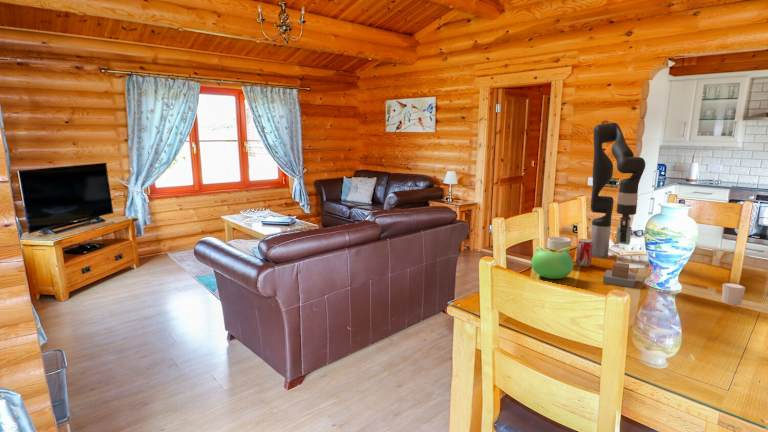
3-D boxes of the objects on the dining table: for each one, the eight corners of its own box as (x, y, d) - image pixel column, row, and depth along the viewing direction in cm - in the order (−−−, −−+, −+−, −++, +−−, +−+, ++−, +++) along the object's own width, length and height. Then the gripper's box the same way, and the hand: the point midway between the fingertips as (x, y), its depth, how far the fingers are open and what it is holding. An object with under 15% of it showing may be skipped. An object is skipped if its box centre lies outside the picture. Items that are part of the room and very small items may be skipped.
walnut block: (613, 272, 192) (614, 261, 191) (628, 274, 189) (629, 264, 188) (611, 275, 187) (612, 265, 186) (627, 278, 184) (628, 267, 183)
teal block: (617, 241, 189) (618, 225, 188) (630, 242, 186) (631, 227, 185) (616, 243, 185) (617, 227, 184) (629, 244, 182) (630, 229, 181)
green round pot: (528, 279, 191) (530, 248, 189) (533, 269, 206) (535, 241, 204) (571, 285, 183) (573, 253, 181) (573, 275, 198) (575, 245, 195)
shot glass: (738, 300, 166) (740, 283, 165) (746, 307, 160) (749, 289, 158) (717, 298, 168) (719, 281, 167) (724, 304, 162) (727, 287, 161)
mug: (538, 259, 225) (539, 235, 223) (557, 258, 227) (558, 234, 225) (553, 267, 211) (555, 241, 208) (573, 266, 212) (575, 241, 210)
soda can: (587, 263, 217) (589, 238, 215) (593, 267, 210) (595, 242, 208) (573, 262, 218) (575, 238, 216) (578, 266, 211) (580, 241, 209)
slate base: (606, 275, 197) (606, 269, 196) (635, 280, 190) (636, 274, 190) (602, 282, 187) (603, 276, 187) (633, 287, 180) (634, 281, 180)
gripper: (619, 200, 190) (615, 236, 193) (615, 204, 179) (611, 242, 182) (638, 201, 186) (634, 238, 189) (635, 205, 175) (631, 245, 178)
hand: (623, 240), depth 185 cm, fingers closed on teal block, 5 cm apart
